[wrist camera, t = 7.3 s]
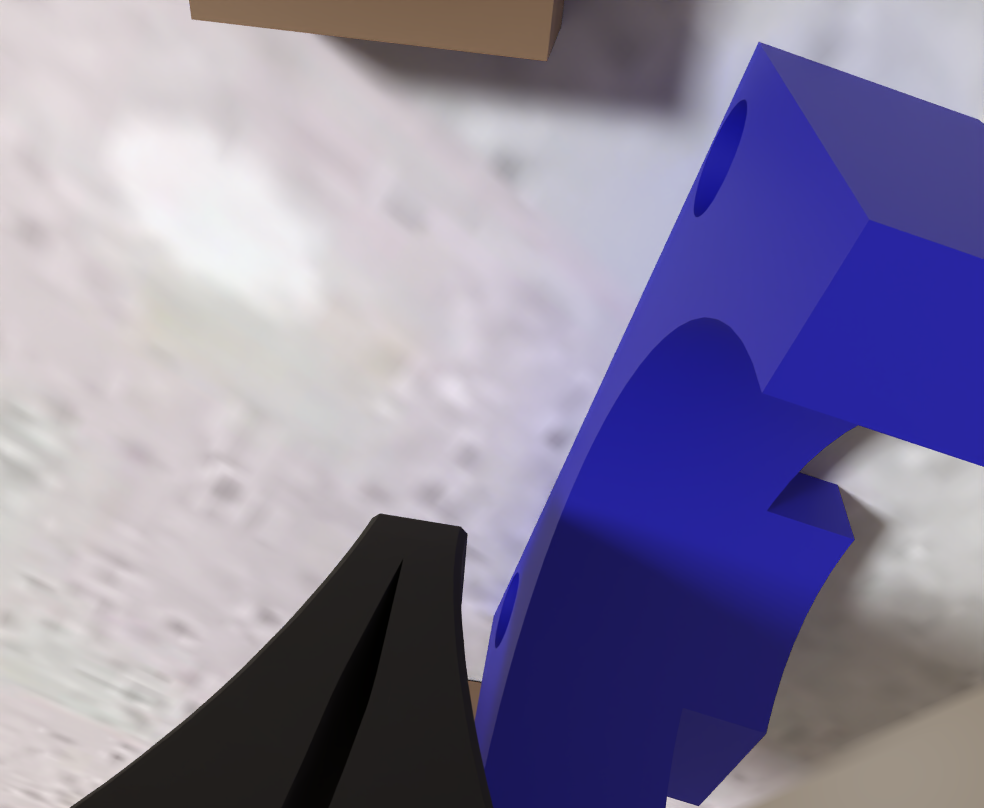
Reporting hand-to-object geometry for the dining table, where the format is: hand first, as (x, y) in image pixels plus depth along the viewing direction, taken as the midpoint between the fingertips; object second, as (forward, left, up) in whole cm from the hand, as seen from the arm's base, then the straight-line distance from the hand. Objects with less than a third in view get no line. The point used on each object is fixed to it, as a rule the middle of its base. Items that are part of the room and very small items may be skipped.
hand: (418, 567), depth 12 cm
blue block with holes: (+1, -5, -3) cm, 6 cm away
